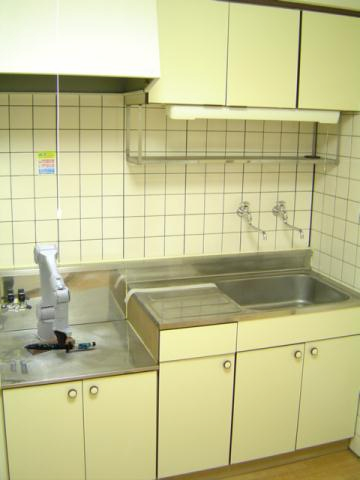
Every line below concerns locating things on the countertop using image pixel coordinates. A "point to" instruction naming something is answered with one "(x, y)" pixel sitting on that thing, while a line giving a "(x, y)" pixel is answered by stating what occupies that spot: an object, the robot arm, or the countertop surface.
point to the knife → (56, 347)
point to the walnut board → (50, 343)
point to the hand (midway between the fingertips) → (61, 346)
